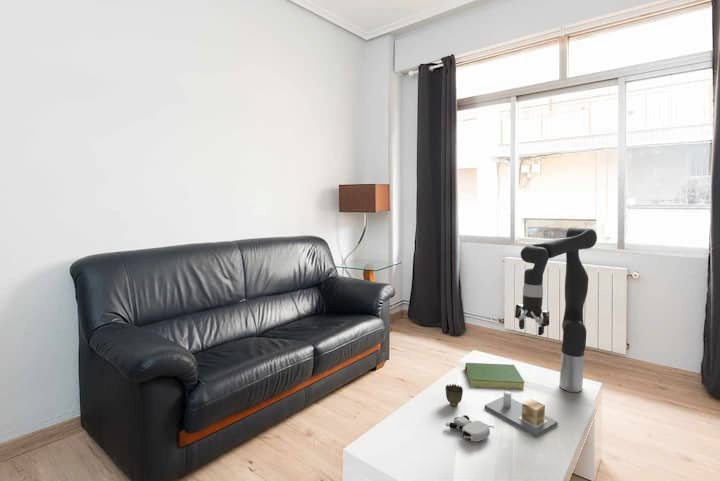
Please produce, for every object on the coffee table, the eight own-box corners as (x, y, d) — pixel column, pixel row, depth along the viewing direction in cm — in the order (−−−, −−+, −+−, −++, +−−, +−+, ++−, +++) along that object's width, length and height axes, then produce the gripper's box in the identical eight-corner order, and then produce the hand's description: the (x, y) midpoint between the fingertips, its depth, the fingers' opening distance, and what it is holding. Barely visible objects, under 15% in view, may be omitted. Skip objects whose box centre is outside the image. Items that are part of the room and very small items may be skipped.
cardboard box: (521, 418, 156) (522, 403, 156) (530, 413, 160) (531, 398, 159) (535, 425, 152) (536, 410, 151) (544, 420, 155) (545, 405, 154)
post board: (505, 398, 175) (506, 382, 174) (557, 425, 155) (558, 407, 154) (484, 408, 167) (485, 391, 166) (536, 437, 147) (537, 418, 146)
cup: (463, 410, 165) (463, 393, 164) (445, 409, 167) (445, 391, 166) (462, 401, 173) (462, 384, 172) (445, 400, 174) (445, 383, 173)
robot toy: (443, 431, 153) (474, 449, 141) (443, 420, 153) (473, 437, 140) (465, 421, 160) (496, 437, 147) (464, 410, 160) (495, 425, 147)
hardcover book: (513, 371, 202) (514, 364, 201) (524, 389, 183) (524, 382, 183) (464, 369, 205) (464, 362, 204) (469, 387, 186) (469, 379, 186)
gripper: (512, 291, 167) (510, 328, 169) (543, 299, 155) (541, 338, 157) (522, 289, 171) (521, 325, 173) (554, 296, 159) (552, 335, 161)
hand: (531, 331), depth 165 cm, fingers open, 8 cm apart
